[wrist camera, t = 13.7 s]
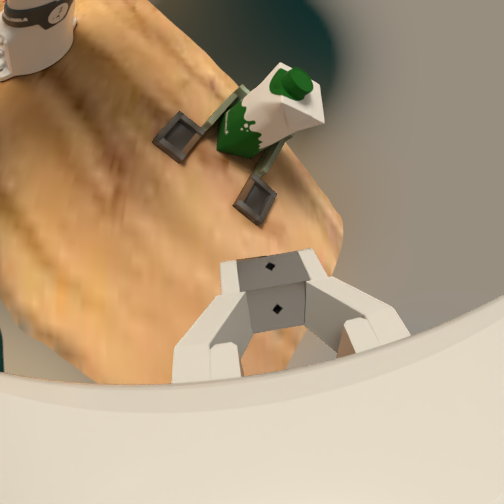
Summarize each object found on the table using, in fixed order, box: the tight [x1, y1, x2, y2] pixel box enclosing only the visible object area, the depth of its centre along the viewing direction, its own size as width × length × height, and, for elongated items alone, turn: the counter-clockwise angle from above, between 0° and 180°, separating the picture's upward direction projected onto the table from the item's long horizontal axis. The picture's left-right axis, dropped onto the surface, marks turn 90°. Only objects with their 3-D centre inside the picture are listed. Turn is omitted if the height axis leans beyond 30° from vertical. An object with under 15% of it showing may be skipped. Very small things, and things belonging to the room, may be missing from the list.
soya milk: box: [217, 63, 325, 159], centre depth 39 cm, size 9×9×20 cm
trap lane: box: [152, 85, 294, 225], centre depth 44 cm, size 23×17×6 cm
